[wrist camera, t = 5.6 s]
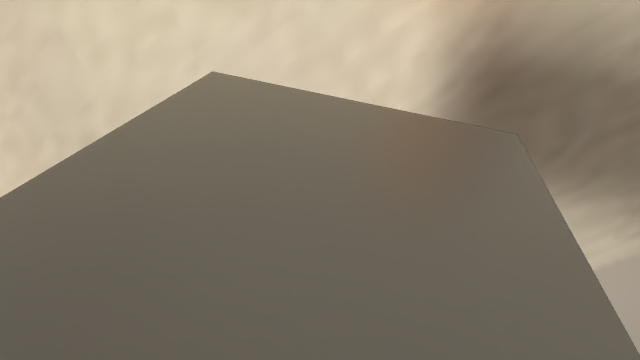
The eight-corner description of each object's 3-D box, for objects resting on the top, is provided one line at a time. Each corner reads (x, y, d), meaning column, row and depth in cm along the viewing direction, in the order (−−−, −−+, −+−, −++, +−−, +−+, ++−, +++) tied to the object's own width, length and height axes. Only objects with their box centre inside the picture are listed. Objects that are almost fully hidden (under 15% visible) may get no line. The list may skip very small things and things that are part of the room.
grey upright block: (424, 332, 13) (437, 822, 6) (217, 276, 14) (-5, 640, 7) (516, 134, 9) (1000, 1006, 2) (212, 71, 10) (-412, 442, 2)
